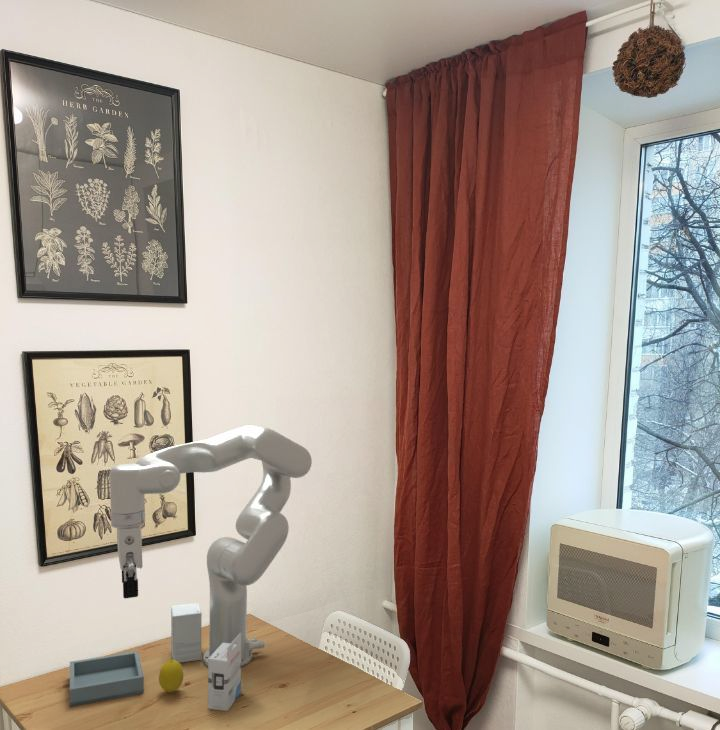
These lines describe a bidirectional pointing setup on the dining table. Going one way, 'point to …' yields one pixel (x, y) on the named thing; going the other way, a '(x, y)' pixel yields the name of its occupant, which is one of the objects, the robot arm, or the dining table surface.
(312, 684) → the dining table surface
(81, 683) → the walled box
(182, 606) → the supplement box
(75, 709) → the dining table surface
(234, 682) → the ink box
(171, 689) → the lemon
